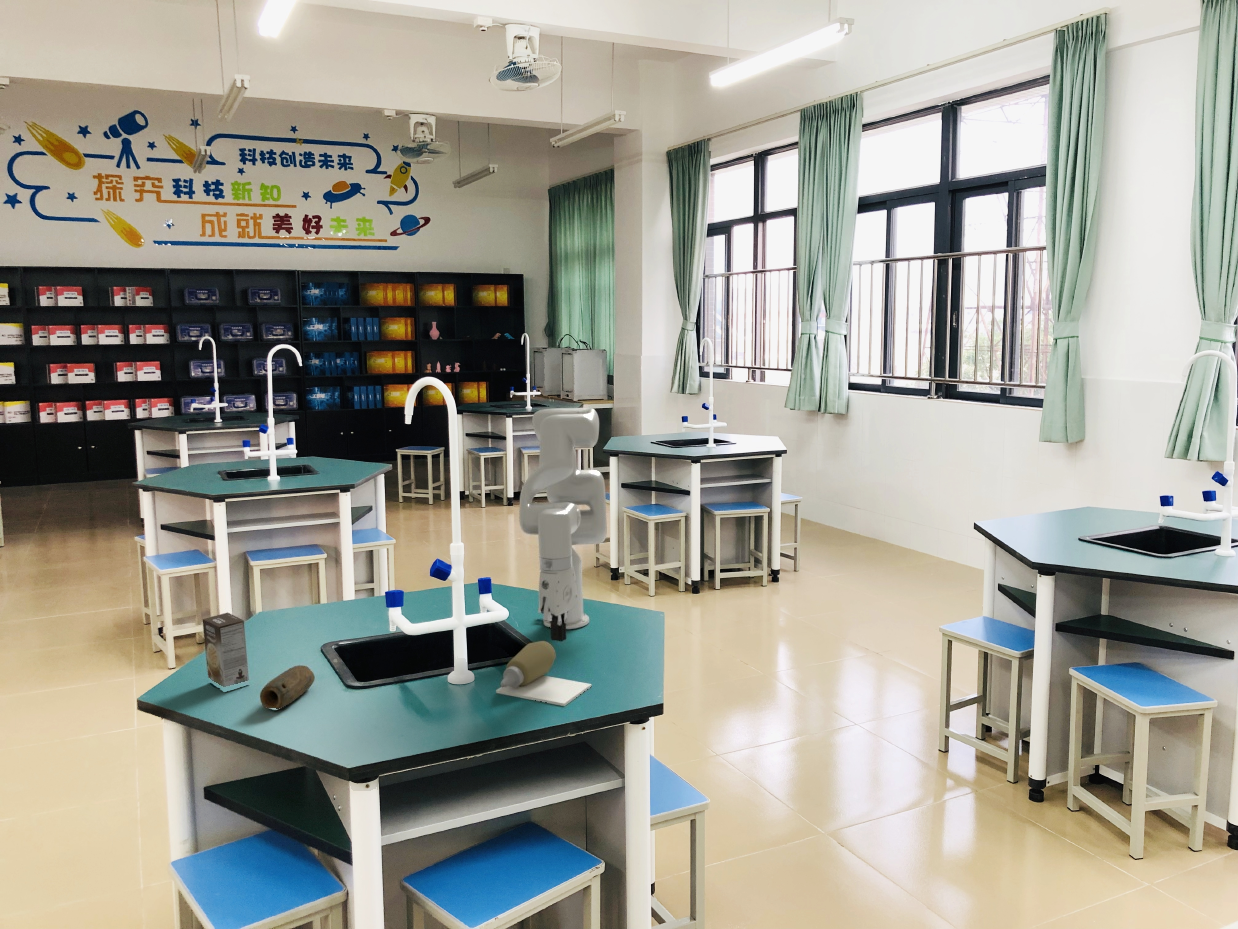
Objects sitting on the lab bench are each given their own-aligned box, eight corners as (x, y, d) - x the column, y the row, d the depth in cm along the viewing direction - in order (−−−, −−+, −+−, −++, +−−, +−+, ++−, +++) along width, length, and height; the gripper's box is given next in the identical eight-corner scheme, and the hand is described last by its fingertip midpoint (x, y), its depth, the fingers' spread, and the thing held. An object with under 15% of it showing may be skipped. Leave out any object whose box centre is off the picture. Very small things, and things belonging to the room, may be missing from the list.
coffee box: (207, 683, 224) (200, 618, 221) (233, 676, 228) (227, 611, 226) (224, 693, 217) (218, 626, 215) (251, 685, 222) (245, 619, 219)
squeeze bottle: (534, 631, 225) (489, 662, 209) (562, 644, 221) (519, 677, 206) (529, 659, 228) (484, 692, 212) (557, 673, 224) (514, 708, 209)
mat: (496, 692, 213) (496, 690, 213) (525, 674, 224) (525, 672, 224) (564, 706, 205) (564, 703, 205) (591, 686, 216) (591, 684, 215)
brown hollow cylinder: (290, 714, 205) (287, 685, 204) (259, 714, 206) (256, 684, 205) (318, 687, 220) (315, 660, 219) (289, 687, 220) (286, 659, 219)
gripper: (552, 572, 208) (555, 652, 211) (586, 556, 221) (588, 632, 224) (524, 569, 212) (527, 647, 214) (558, 553, 225) (561, 628, 227)
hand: (558, 639), depth 219 cm, fingers closed
